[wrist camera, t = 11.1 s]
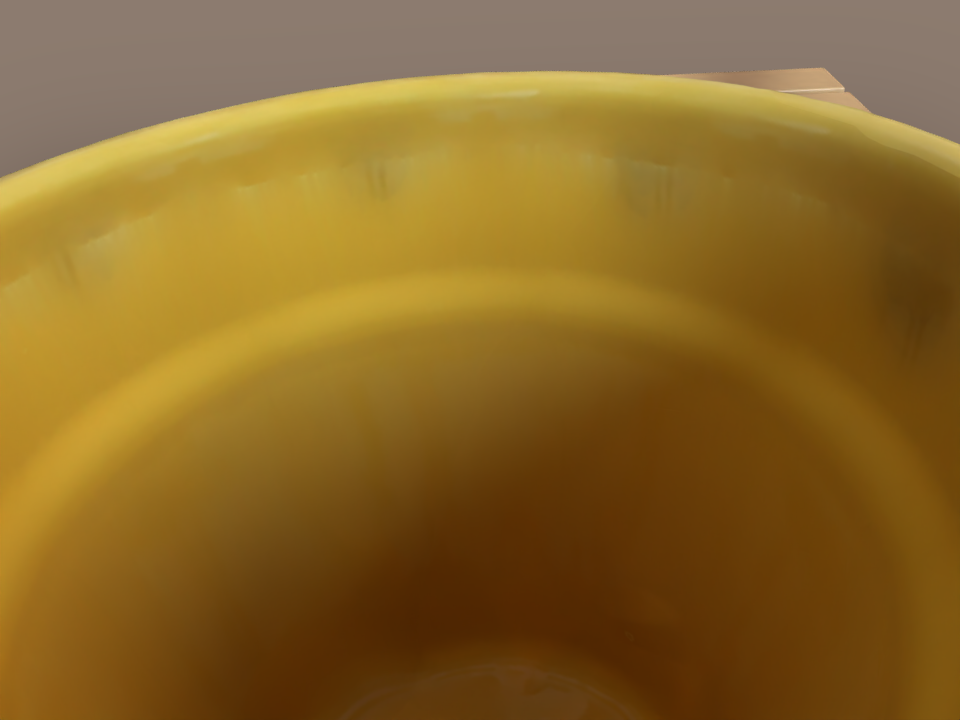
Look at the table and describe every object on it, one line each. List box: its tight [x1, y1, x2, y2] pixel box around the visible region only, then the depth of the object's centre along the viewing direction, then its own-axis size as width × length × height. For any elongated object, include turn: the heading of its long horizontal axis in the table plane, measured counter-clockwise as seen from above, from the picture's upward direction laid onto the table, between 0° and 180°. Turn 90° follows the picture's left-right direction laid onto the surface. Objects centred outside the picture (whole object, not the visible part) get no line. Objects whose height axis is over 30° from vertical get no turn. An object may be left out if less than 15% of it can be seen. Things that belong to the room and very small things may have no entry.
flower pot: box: [0, 71, 960, 720], centre depth 9 cm, size 10×10×10 cm
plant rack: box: [662, 68, 871, 113], centre depth 24 cm, size 15×13×8 cm
